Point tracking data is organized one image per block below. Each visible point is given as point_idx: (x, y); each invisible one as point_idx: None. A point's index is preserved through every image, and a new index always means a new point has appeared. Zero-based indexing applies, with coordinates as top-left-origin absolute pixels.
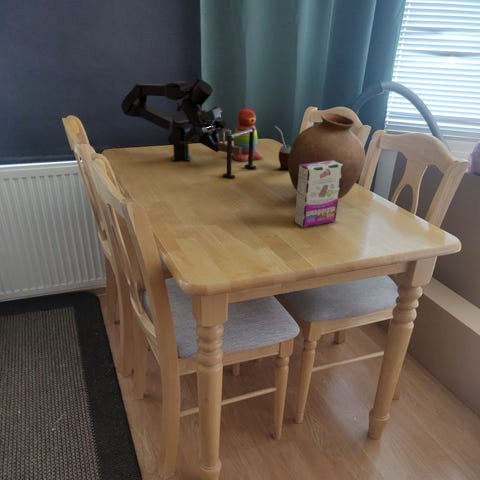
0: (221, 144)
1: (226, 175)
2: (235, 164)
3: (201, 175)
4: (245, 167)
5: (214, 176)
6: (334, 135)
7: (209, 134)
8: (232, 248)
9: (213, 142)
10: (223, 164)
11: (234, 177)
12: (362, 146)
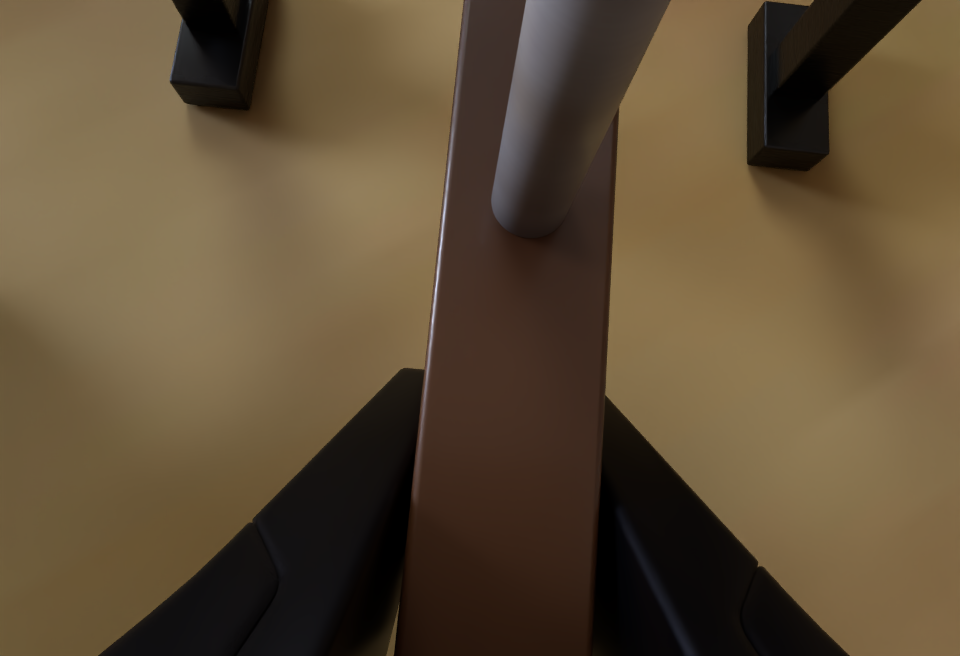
0: (607, 238)
1: (826, 98)
2: (144, 308)
3: (951, 458)
4: (250, 91)
5: (863, 277)
6: None
7: None
8: None
9: (694, 546)
10: (248, 475)
11: (756, 21)
12: None
